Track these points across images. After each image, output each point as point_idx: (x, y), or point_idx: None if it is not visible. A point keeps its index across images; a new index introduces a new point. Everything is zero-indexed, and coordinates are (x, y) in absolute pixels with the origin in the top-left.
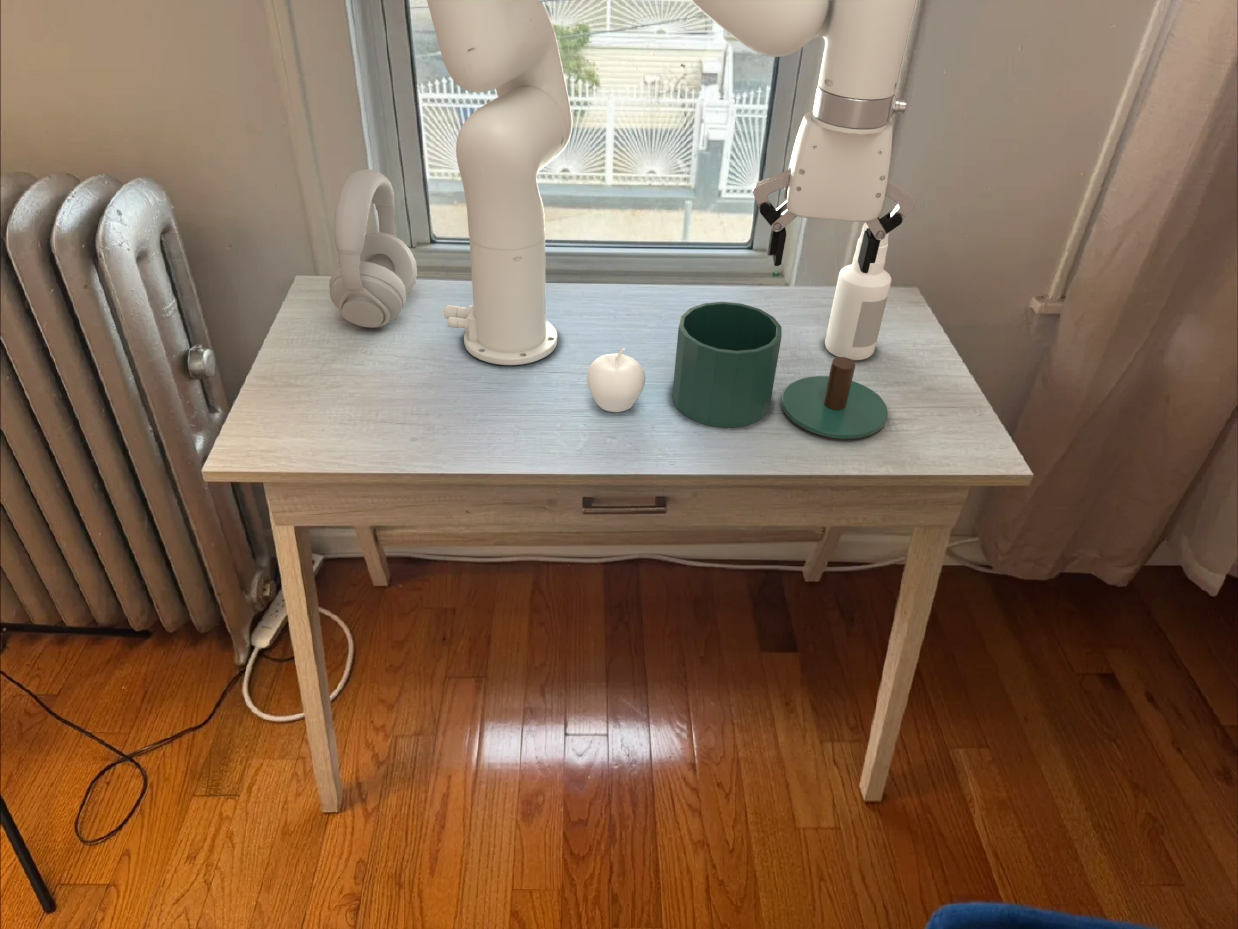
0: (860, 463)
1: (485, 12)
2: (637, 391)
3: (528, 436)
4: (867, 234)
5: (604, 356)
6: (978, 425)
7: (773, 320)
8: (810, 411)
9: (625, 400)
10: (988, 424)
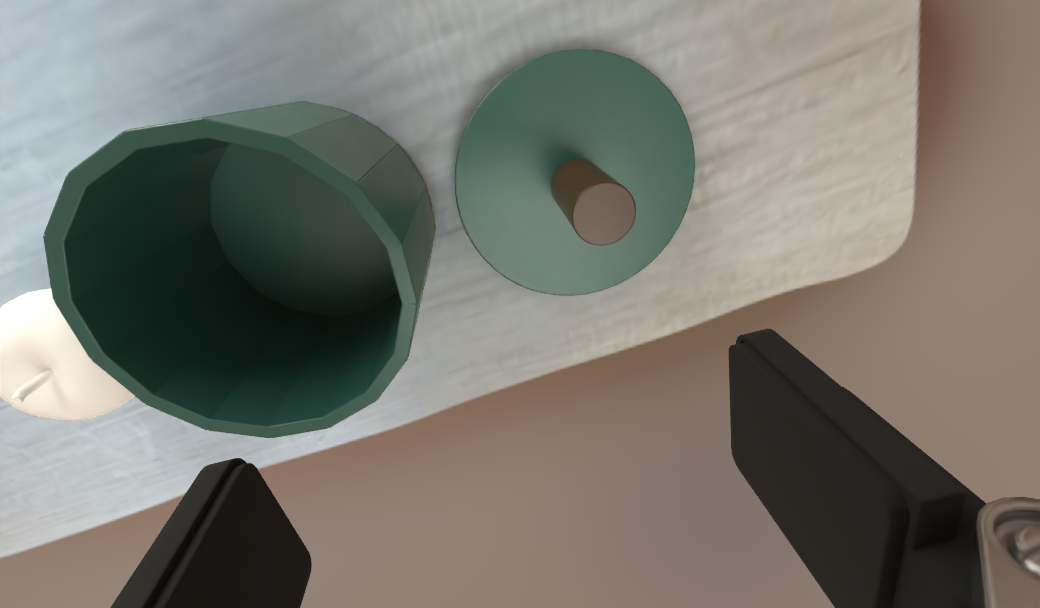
0: (628, 328)
1: None
2: None
3: (49, 458)
4: (887, 571)
5: None
6: (886, 116)
7: (363, 211)
8: (526, 234)
9: None
10: (910, 103)
